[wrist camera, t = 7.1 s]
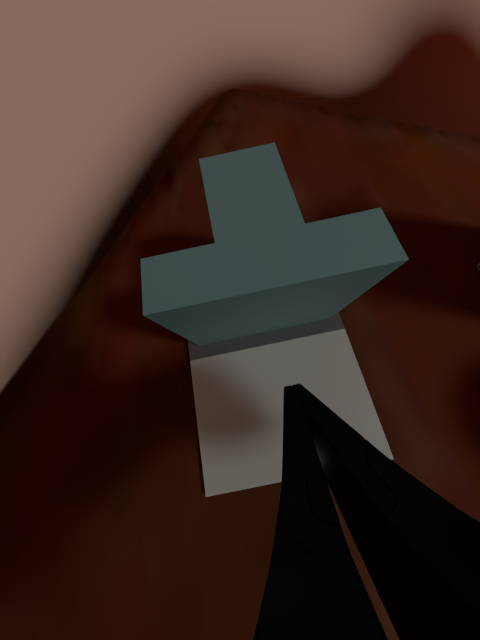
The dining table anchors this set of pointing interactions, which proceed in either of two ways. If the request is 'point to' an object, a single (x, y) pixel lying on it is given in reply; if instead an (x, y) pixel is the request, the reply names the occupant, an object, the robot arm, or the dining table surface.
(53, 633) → the dining table surface
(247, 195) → the T block
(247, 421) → the mat
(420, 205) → the dining table surface
